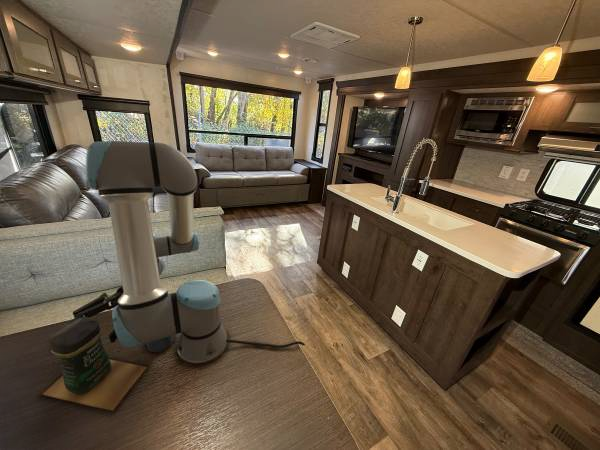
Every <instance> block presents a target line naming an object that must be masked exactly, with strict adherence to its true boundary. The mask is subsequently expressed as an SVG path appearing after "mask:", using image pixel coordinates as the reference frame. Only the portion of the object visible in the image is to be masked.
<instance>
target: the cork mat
mask: <svg viewBox="0 0 600 450" xmlns="http://www.w3.org/2000/svg"><path fill="white" fill-rule="evenodd" d="M109 360H110V362H111V365H112V367H111V370H110V371H109V373H108V374H107V375H106V376H105V377H104V378H103V379H102V380H101V381H100V382H99V383H98V384H97V385H95V386H94V387H93V388H92V389H90V390H89V391H87V392H85V393H81V394H75V393H72V392H70V391H68V390H67V389H66V387H65V384H64V379H63V375H62V376H60V377H59V378H58V379H57V380H56V381H55V382H54V383H53V384H52V385H51V386H50V387H49V388H47V389H46V390H45V391H44V392H43V393H42V396H45V397H49V398H53V399H58V400H62V401H65V402H71V403H75V404H80V405H84V406H88V407H93V408H98V409H102V410H106V411H111V412H113V411H115V409H116V408H117V407H118V406H119V404H120V403H121V402H122V400H123V399H124V398H125V397H126V395H127V394H128V393H129V391H130V390H131V389H132V388H133V386H134V385H135V384H136V383H137V382H138V380H139V379H140V377H141V376H142V375H143V374H144V372H145V371H146V370H147V368H148V367H147V366H143V365H139V364H133V363H128V362H125V361H119V360H114V359H110V358H109Z"/></svg>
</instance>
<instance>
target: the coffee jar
mask: <svg viewBox="0 0 600 450" xmlns="http://www.w3.org/2000/svg"><path fill="white" fill-rule="evenodd" d="M69 323H70V322H69ZM69 323H68V324H69ZM68 324H67V325H66V326H64V327H62V328H61V329H59V330H58V331H57V332H56V333H54V334H53V335H51V337H50V338H49V348H50V352H51V353H52V354H53V355H54V356H55V357H57V358H58V361H59V364H60V367H61V368H60V369H61V373H62V376H63V379H64V384H65V387H66V389H67V390H68V391H70V392H72V393H75V394H81V393H85V392H87V391H89V390H90V389H92V388H93V387H94V386H95V385H97V384H98V383H99V382H100V381H101V380H102V379H103V378H104V377H105V376H106V375H107V374H108V373H109V371H110V370H111V367H112V365H111V362H110V360H111V359H110V358H109V356H108V353H107V352H106V349H105V347H104V345H103V343H102V342H103V341H102V339H101V336H102V328H101V326H100V324H99V322H98V321H97V320H96V319H94V318H92V317H90V318H89V317H82V318H80V319H77V320H76V321H74V322H72V323H70V324H69V325H68ZM109 359H110V360H109Z"/></svg>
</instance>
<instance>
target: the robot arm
mask: <svg viewBox="0 0 600 450" xmlns="http://www.w3.org/2000/svg"><path fill="white" fill-rule="evenodd" d="M85 155H86V156H85V175H86V179H87V185H88V187H89V188H90V190H94V191H98V196H99V198H100V199H102V200H103V201H105V202H106V203H107V204H108V208H109V214H110V221H111V226H112V232H113V238H114V244H115V245H114V246H115V248H116V249H115V251H116V255H117V262H118V268H119V272H120V280H121V284H120V285H119V287H118V288H117V290H116V291H115V292H114V293H113V294H110V295H109V294H107V292H103V293H102V294H100V296H98V297H96V298H94V299H93V300H91V301H89V302H88V303H86V304H84V305H82V306H80V307H79V308H77V309H75V310H73V311H72V316H73V319H72V320H71V321H69V323H68V324H67V325H69V324H70V323H72V322H74V321H76V320H77V319H80V318H82V317H89V318H92V317H94V316H97V315H99V314H101V313H103V312H106V311H110V310H112V313H111V317H112V322H113V330H112V331H111V332H110V333H109V334H108V339H109V341H110V344H114V343H115V342H116V340H118V341H119V343H120V344H121V345H122V346H123V347H124V348H128V349H129V348H131V349H132V348H135V347H138V346H145V345H147V344H146V343H149V342H153V341H156V340H159V339H162V338H165V337H168V336H172V335H173V336H174V335H178V334H180V336H179V339H178V342H177V353H178V357H179V359H180V360H181V361H182V362H183V363H184V364H186V365H190V366H203V365H206V364H209V363H211V362H213V361H215V360H216V359H218V358H219V357H220V356H221V355H222V354H223V353H224V352H225V350H226V349H227V346H228V343H233V344H240V345H241V344H242V345H250V346H259V347H269V348H276V349H284V348H289V347H292V346H295V345H301V346H305V345H306V344H305V343H304V342H302V341H300V340H299V341H296V340H295V341H292V342H290V343H285V344H274V343H273V344H272V343H263V342H255V341H254V342H253V341H246V340H237V339H230V338H229V339H228V333H227V330H226V329H225V327H224V326H223V323H222V320H221V319H222V317H221V297H220V290H219V288H218V287H217V286H216V285H215V284H214V283H213V282H211V281H208V280H205V279H193V280H188V281H185V282H183V284H180V285H179V287H177V290H176V291H175V292H172V293H169V291H168V287H166V286H164V285H162V284H161V280H160V276H161V275H162V274H163V272H164V270H165V269H166V262H165V261H164V260H163V259H162V257H168V256H174V255H175V256H176V255H180V254H188V253H193V252H197V251H198V250H199V249H200V241H199V235H198V233H197V232H194V199H195V197H194V193H196V191H197V189H198V177H197V173H196V170H195V169H194V166H193V164H192V163H191V161H190V160H189V159H188V157H186V156H185V155H184V154H183V153H182V152H181V151H180V150H178V149H177V148H175V147H173V146H172V145H170V144H166V143H163V142H143V141H142V142H141V141H123V140H108V141H107V140H106V141H105V140H104V141H93V142H92V143H90V144H89V146H88V147H87V150H86V154H85ZM161 187H162V189H163V190H164V192H165V193H166V195H167V205H168V216H169V225H170V234H171V235H165V236H158V237H157V236H156V233H154V231H153V226H152V219H151V211H150V206H149V200H150V198H151V197H152V196H153V195H154V190H153V188H161Z"/></svg>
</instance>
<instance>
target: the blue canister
mask: <svg viewBox="0 0 600 450" xmlns="http://www.w3.org/2000/svg"><path fill="white" fill-rule="evenodd" d="M173 341H174V335H172V336H168V337H165V338H162V339H159V340H156V341H153V342H149V343H146V344H145V345H146V348H147V350H148V351H150V352H152V353H159V352H162V351H165V350H166V349H168V348H169V347H170V346H171V345H172V344H173Z"/></svg>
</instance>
